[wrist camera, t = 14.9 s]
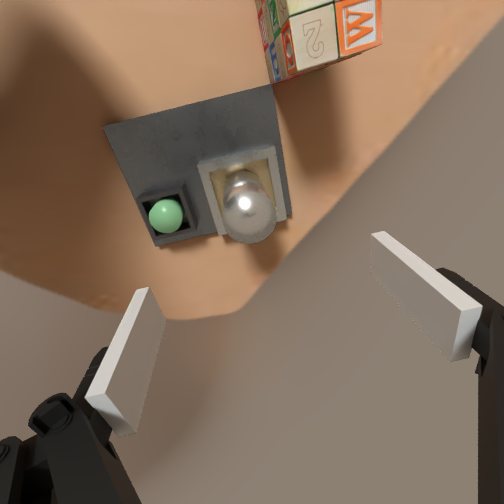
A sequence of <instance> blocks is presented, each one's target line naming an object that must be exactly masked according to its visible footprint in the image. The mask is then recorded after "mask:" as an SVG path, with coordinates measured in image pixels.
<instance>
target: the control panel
mask: <svg viewBox="0 0 504 504" xmlns="http://www.w3.org/2000/svg"><path fill="white" fill-rule="evenodd" d="M102 127H103V130H104V132H105V134H106V136H107V139H108V141H109V143H110V145H111V148H112V150H113V152H114V154H115V157H116V159H117V161H118V163H119V166H120V168H121V170H122V172H123V175H124V177H125V179H126V181H127V184H128V186H129V188H130V190H131V193H132V195H133V197H134V199H135V202H136V204H137V206H138V208H139V211H140V213H141V215H142V217H143V220H144V222H145V224H146V226H147V229H148V231H149V233H150V235H151V238H152V240H153V242H154V244H155V247H156V246H160V245H164V244H168V243H172V242H177V241H181V240H185V239H189V238H193V237H198V236H202V235H206V234H210V233H214V232H218V235H219V236H221V235H225V234H227V232H226V231H225V229H224V226H223V221H222V214H223V188H224V184H225V182H226V180H227V179H228V178H229V177H230V176H231V175H232V174H234V173H236V172H239V171H248V172H251V173H253V174H255V175H256V176H257V177H258V178H259V179H260V181H261V182H262V184H263V186H264V188H265V190H266V192H267V194H268V196H269V198H270V199H271V201H272V203H273V205H274V207H275V210H276V214H277V221H276V222H280V221H284V220H287V216H286V215H290V214H292V210H291V203H290V197H289V190H288V184H287V177H286V171H285V164H284V158H283V152H282V145H281V139H280V132H279V126H278V119H277V113H276V106H275V100H274V93H273V87H272V84H268V85H265V86H261V87H257V88H253V89H249V90H245V91H241V92H237V93H233V94H229V95H225V96H221V97H217V98H213V99H209V100H205V101H201V102H197V103H193V104H189V105H185V106H181V107H177V108H173V109H169V110H165V111H161V112H157V113H153V114H149V115H145V116H141V117H137V118H133V119H129V120H125V121H121V122H117V123H113V124H109V125H105V126H102ZM166 196H172V197H175V198H177V199H179V200H180V201H181V202H182V204H183V207H184V210H185V214H184V217H183V220H182V222H181V225H180V227H179V228H178V229H177V230H176V231H174V232H172V233H162V232H159V231H157V230H156V229H155V228H153V226H152V225H151V223H150V221H149V213H150V210H151V209H152V208H153V206H154V205H155V204H156V202H157V201H158V200H159V199H160V198H162V197H166Z"/></svg>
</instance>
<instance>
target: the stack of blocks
mask: <svg viewBox="0 0 504 504" xmlns="http://www.w3.org/2000/svg"><path fill="white" fill-rule="evenodd" d="M255 2H256V7H257V12H258V20H259V26H260V31H261V36H262V41H263V46H264V52H265V58H266V63H267V68H268V74H269V79H270V83H271V84H275V83H278V82H282V81H285V80H288V79H291V78H294V77H297V76H300V75H302V74H305V73H309V72H312V71H315V70H318V69H322V68H325V67H328V66H330V65H332V64H335V63H338V62H340V61H343V60H346V59H349V58H352V57H354V56H356V55H359V54H362V52H365V51H367V50H369V49H372V48H374V47H377V46H379V45H381V44H382V43H383V34H382V5H381V0H255Z"/></svg>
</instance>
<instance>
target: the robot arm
mask: <svg viewBox="0 0 504 504" xmlns="http://www.w3.org/2000/svg"><path fill="white" fill-rule="evenodd" d="M371 274H372V275H373V276H374V277H375V279H376V280H377V281H378V282H379V283H380V284H381V285H382V286H383V287H384V289H385V290H386V291H387V292H388V293H389V294H390V295H391V296H392V297H393V299H394V300H395V301H396V302H397V303H398V304H399V305H400V306H401V307H402V309H403V310H404V311H405V312H406V313H407V314H408V315H409V316H410V318H411V319H412V320H413V321H414V322H415V323H416V324H417V325H418V327H419V328H420V329H421V330H422V331H423V332H424V333H425V334H426V335H427V336H428V338H429V339H430V340H431V341H432V342H433V343H434V344H435V345H436V347H437V348H438V349H439V350H440V351H441V352H442V353H443V354H444V356H446V358H447V359H448V360H449V361H450V362H453V361H457V360H462V359H466V358H469V356H470V353H471V349H472V348H473V349H474V350H475V351H476V352H477V353H478V354H479V355H480V357H479V361H478V364H477V367H476V371H475V373H476V374H478V379H479V380H478V504H504V306H502V305H501V304H499V303H498V302H496V301H495V300H493V299H492V298H491V297H489V296H488V295H486V294H485V293H484V292H482V291H481V290H479V289H478V288H477V287H475V286H473V285H472V284H471V283H469V282H468V281H465V279H464V278H462V277H461V276H460V275H458V274H457V273H455V272H453V271H450V270H447V269H445V268H439V269H433V268H432V267H431V266H429V265H428V264H427V263H425V262H424V261H423V260H422V259H420V258H419V257H418V256H416V255H415V254H414V253H412V252H411V251H410V250H408V249H407V248H406V247H404V246H403V245H401V244H400V243H399V242H398V241H397V240H395V239H394V238H393V237H391V236H390V235H389V234H387V233H386V232H385V231H382V232H377V233H373V234H371ZM165 325H166V319H165V317H164V315H163V313H162V311H161V309H160V307H159V305H158V303H157V301H156V299H155V297H154V295H153V293H152V291H151V289H150V287H146V288H142V289H137V290H136V292H135V294H134V296H133V298H132V300H131V302H130V304H129V306H128V308H127V310H126V313H125V315H124V317H123V319H122V321H121V323H120V325H119V327H118V329H117V331H116V333H115V336H114V337H113V340H112V342H111V344H110V346H109V347H104V348H102V349H101V350H100V351H99V352H98V353H97V355H96V356H95V357H94V358H93V360H92V362H91V364H90V366H89V369H88V370H87V372H86V374H85V377H84V378H83V380H82V381H81V384H80V385H79V387H78V389H77V391H76V393H75V395H74V397H73V399H71V398H70V397H69V396H68V395H67V394H66V393H58V394H56V395H53V396H51V397H49V398H48V399H46V400H45V401H44V402H43V403H41V404H40V405H39V406H38V407H37V408H36V410H35V411H34V412H33V413H32V415H31V417H30V419H29V423H28V426H29V427H30V428H31V429H32V430H34V431H35V432H36V433H37V435H35V436H33V437H31V438H29V439H27V440H25V441H21V440H20V439H19V438H17V437H16V436H12V437H8V438H5V439H3V440H1V441H0V504H142V503H141V501H140V499H139V497H138V495H137V493H136V491H135V489H134V487H133V485H132V483H131V481H130V479H129V477H128V475H127V473H126V471H125V469H124V467H123V465H122V463H121V461H120V459H119V457H118V455H117V453H116V451H115V449H114V447H113V445H112V443H111V442H110V441H109V437H110V434H111V431H112V430H113V431H114V432H115V434H116V435H117V436H118V437H122V436H126V435H130V434H135V433H137V429H138V425H139V422H140V418H141V415H142V410H143V407H144V403H145V400H146V396H147V392H148V388H149V385H150V381H151V377H152V373H153V369H154V366H155V362H156V359H157V355H158V351H159V347H160V344H161V340H162V336H163V332H164V329H165Z"/></svg>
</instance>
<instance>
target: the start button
mask: <svg viewBox="0 0 504 504" xmlns="http://www.w3.org/2000/svg"><path fill="white" fill-rule="evenodd" d="M184 214H185V210H184V207H183V204H182V202H181V201H180V200H179V199H177V198H175V197H172V196H166V197H162V198H160V199H159V200H158V201H157V202H156V204H155V205H154V206H153V208H152V209H151V210H150V213H149V221H150V223H151V225H152V226H153V228H155V229H156V230H157V231H159V232H162V233H172V232H174V231H176V230H177V229H178V228H179V227H180V225H181V222H182V220H183V217H184Z"/></svg>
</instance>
